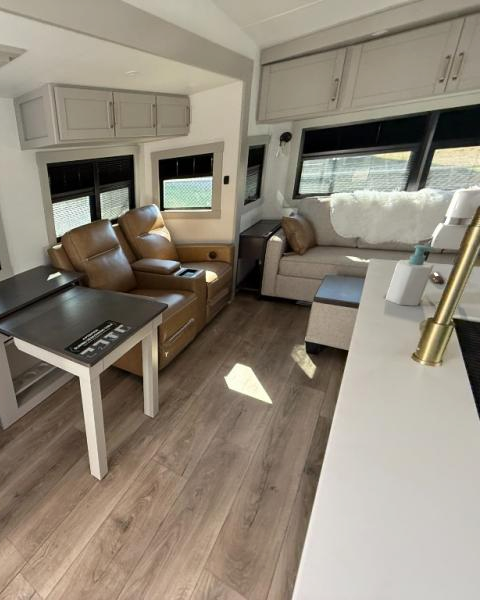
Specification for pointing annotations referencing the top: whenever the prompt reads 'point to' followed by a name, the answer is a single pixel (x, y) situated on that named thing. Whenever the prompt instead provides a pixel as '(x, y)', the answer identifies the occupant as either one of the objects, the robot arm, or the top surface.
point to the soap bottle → (410, 279)
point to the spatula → (437, 278)
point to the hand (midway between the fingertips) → (439, 261)
